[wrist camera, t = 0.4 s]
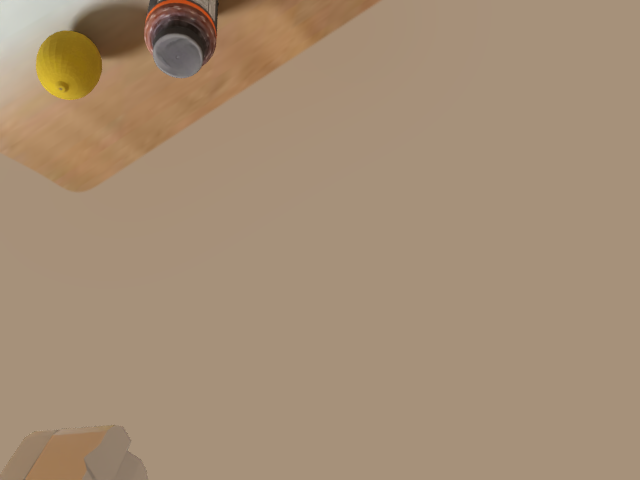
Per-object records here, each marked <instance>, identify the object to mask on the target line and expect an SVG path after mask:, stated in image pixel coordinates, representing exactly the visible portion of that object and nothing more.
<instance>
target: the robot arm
mask: <svg viewBox="0 0 640 480" xmlns="http://www.w3.org/2000/svg"><path fill="white" fill-rule="evenodd" d="M130 443H131V439H130V437H129V436H128V434H127V432H126V431H125V429H124V427H122V426H116V425H111V426H95V427H81V428H66V429H60V430H46V431H34V432H33V433H31V434H29V435H28V436H26V437H25V438H24V439H23V441H22V442H21V444H20V445H19V447H18V448H17V450H16V451H15V453H14V454H13V456H12V457H11V459H10V460H9V462H8V463H7V465H6V466H5V468H4V469H3V471H2V472H1V474H0V480H148V476H147V471H146V469H145V466H144V464H143V462H142V460H141V459H139V458H138V457H136V456H135V455H133V454H132V453H130V452H129V451H128V448H129V446H130Z"/></svg>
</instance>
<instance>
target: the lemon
mask: <svg viewBox="0 0 640 480" xmlns="http://www.w3.org/2000/svg"><path fill="white" fill-rule="evenodd" d="M36 70H37V75H38V78H39V80H40V82H41V84H42V85H43V87H44V88H45V89H46V90H47V91H48V92H50V93H51V94H52V95H54V96H56V97H58V98H62V99H67V100H74V99H79V98H82V97H84V96H86V95H87V94H88V93H90V92H91V91H92V90H93V88H94V87H95V86H96V84H97V83H98V81H99V78H100V75H101V72H102V60H101V56H100V53H99V51H98V49H97V47H96V45H95V44H94V43H93V42H92V41H91V40H90V39H89V38H87V37H86V36H85V35H83V34H80V33H78V32H74V31H60V32H56V33H54V34H53V35H51V36H49V37H48V38H47V39H46V40H45V41H44V42H43V43H42V45H41V47H40V49H39V51H38V54H37V60H36Z"/></svg>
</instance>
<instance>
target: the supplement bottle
mask: <svg viewBox="0 0 640 480" xmlns="http://www.w3.org/2000/svg"><path fill="white" fill-rule="evenodd" d="M218 4H219V3H218V0H150V2H149V7H148V12H147V16H146V22H145V28H144V39H145V43H146V46H147V48H148V50H149V52H150V53H151V55H152V56H153V58H154V61H155V63H156V65H157V66H158V68H159V69H160V70H161V71H163V72H164V73H166V74H167V75H170V76H172V77H176V78H186V77H190V76H192V75H194V74H195V73H197V72H198V71H199V70H200V68H201V66H203V65H204V64H206V63H207V62H208V61H209V59H210V58H211V57H212V55H213V53H214V51H215V47H216V37H217V15H218V14H217V13H218Z"/></svg>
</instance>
